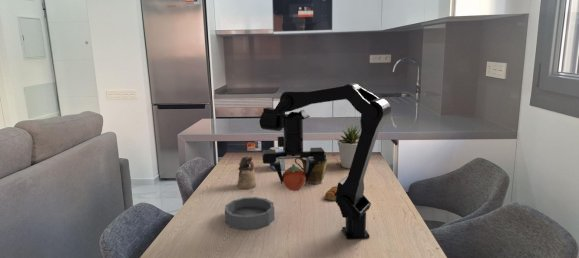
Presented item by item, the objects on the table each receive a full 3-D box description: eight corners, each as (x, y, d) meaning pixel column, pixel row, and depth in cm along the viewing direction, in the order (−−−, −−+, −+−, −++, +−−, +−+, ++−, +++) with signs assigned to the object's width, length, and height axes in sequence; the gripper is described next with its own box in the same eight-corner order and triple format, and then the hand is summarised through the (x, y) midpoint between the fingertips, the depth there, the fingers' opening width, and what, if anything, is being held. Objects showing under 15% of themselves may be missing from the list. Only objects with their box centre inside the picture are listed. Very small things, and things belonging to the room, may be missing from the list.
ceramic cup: (329, 178, 158) (330, 154, 156) (323, 187, 149) (323, 161, 147) (299, 175, 163) (299, 152, 160) (291, 183, 153) (290, 158, 151)
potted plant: (329, 165, 175) (329, 121, 171) (354, 160, 182) (355, 117, 177) (346, 172, 165) (346, 126, 160) (372, 167, 171) (373, 122, 167)
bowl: (275, 228, 117) (275, 215, 116) (224, 231, 115) (223, 218, 115) (272, 207, 131) (272, 196, 131) (227, 209, 130) (226, 198, 129)
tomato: (307, 184, 124) (306, 160, 122) (305, 193, 117) (304, 167, 115) (284, 184, 125) (282, 160, 123) (281, 193, 118) (279, 168, 116)
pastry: (334, 203, 134) (334, 193, 133) (320, 198, 139) (320, 188, 138) (352, 196, 140) (352, 185, 140) (337, 191, 145) (337, 181, 145)
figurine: (246, 181, 156) (245, 152, 154) (260, 185, 152) (259, 155, 150) (234, 187, 151) (232, 157, 148) (248, 190, 147) (247, 159, 144)
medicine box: (269, 166, 175) (268, 147, 173) (278, 165, 177) (278, 146, 175) (276, 171, 168) (275, 152, 166) (285, 170, 170) (285, 150, 168)
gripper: (319, 125, 126) (319, 172, 129) (261, 128, 124) (262, 175, 127) (326, 133, 115) (326, 184, 118) (262, 136, 113) (263, 187, 116)
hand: (294, 182), depth 120 cm, fingers closed on tomato, 7 cm apart
